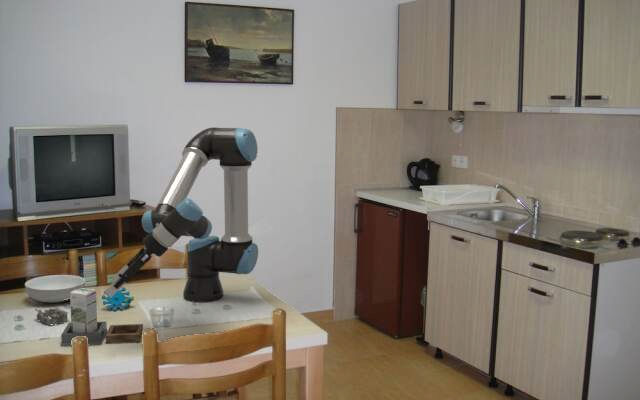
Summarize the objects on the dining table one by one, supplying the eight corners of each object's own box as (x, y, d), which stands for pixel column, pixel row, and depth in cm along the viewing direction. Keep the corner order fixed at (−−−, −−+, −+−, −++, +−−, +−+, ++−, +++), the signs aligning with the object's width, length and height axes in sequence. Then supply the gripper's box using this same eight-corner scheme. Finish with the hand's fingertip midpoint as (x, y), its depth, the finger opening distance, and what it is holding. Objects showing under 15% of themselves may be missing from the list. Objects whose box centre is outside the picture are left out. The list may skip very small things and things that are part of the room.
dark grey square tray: (107, 331, 212) (107, 321, 211) (101, 344, 200) (101, 333, 200) (68, 333, 210) (68, 322, 209) (60, 346, 198) (60, 334, 198)
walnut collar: (142, 331, 213) (142, 323, 212) (139, 342, 203) (139, 334, 203) (110, 332, 211) (110, 325, 211) (105, 343, 201) (105, 335, 201)
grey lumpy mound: (34, 320, 222) (33, 308, 222) (55, 315, 228) (55, 304, 227) (48, 327, 215) (48, 315, 215) (70, 322, 221) (70, 310, 220)
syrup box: (98, 333, 207) (97, 288, 205) (86, 340, 201) (85, 293, 199) (82, 331, 208) (81, 287, 206) (70, 337, 202) (69, 291, 200)
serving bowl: (25, 310, 232) (24, 291, 231) (25, 294, 251) (24, 277, 250) (88, 304, 240) (87, 286, 240) (83, 289, 259) (83, 272, 259)
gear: (99, 308, 231) (103, 283, 237) (99, 316, 235) (103, 291, 241) (132, 310, 234) (135, 286, 240) (131, 318, 238) (134, 294, 244)
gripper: (154, 224, 216) (108, 269, 216) (147, 239, 192) (94, 291, 192) (171, 239, 218) (125, 285, 218) (166, 257, 193) (114, 308, 193)
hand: (111, 288), depth 205 cm, fingers open, 13 cm apart
